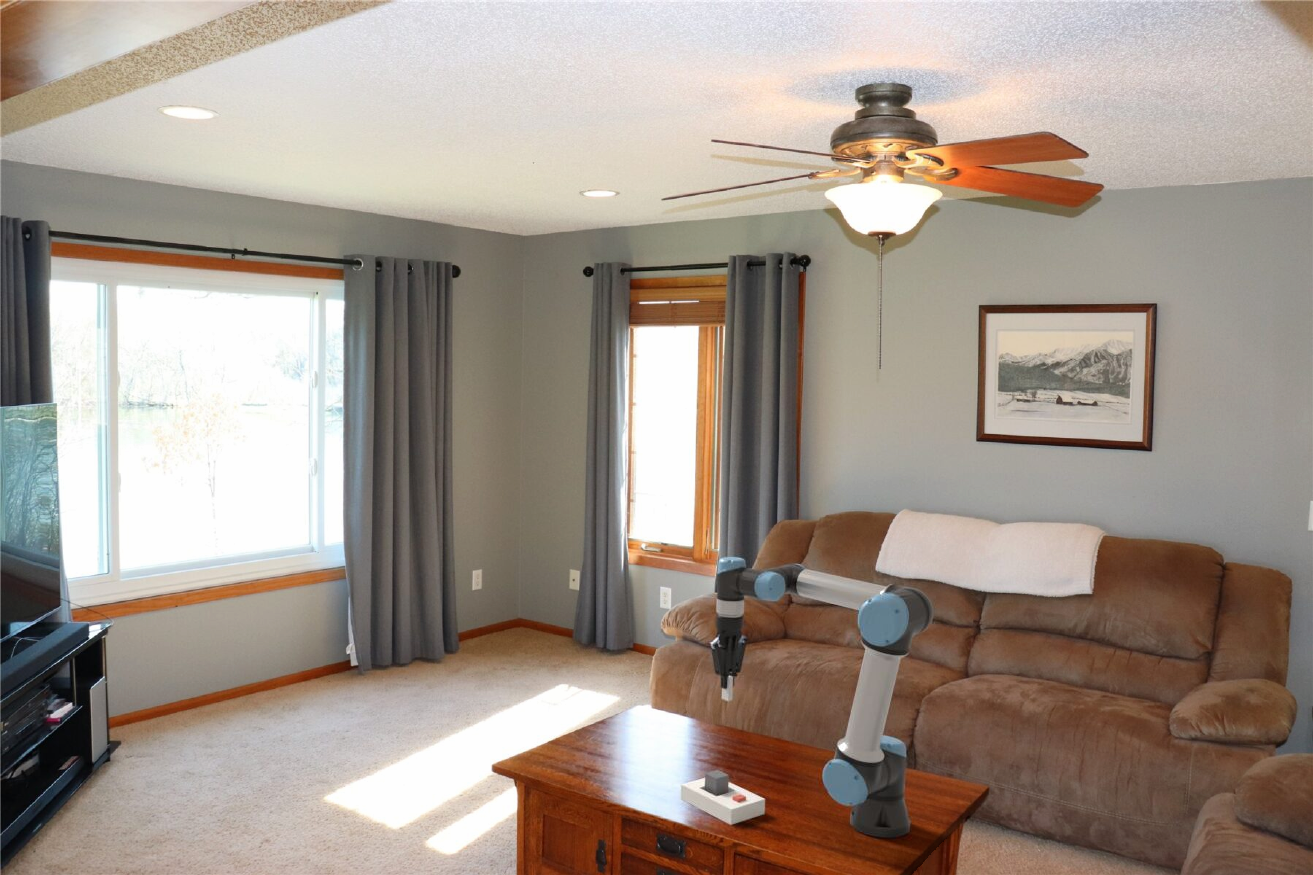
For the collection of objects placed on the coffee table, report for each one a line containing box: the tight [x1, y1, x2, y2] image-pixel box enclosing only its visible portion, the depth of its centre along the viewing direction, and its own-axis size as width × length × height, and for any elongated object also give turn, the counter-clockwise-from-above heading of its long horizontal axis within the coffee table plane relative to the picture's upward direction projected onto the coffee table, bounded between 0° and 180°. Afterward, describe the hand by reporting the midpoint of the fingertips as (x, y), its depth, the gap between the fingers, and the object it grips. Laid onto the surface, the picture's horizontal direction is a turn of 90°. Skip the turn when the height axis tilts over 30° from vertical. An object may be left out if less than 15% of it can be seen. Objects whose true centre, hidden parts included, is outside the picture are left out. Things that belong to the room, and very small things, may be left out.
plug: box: [704, 769, 730, 796], centre depth 280 cm, size 4×4×8 cm
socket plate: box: [680, 777, 766, 826], centre depth 278 cm, size 20×12×5 cm, turn 38°
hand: (726, 699), depth 285 cm, fingers closed
